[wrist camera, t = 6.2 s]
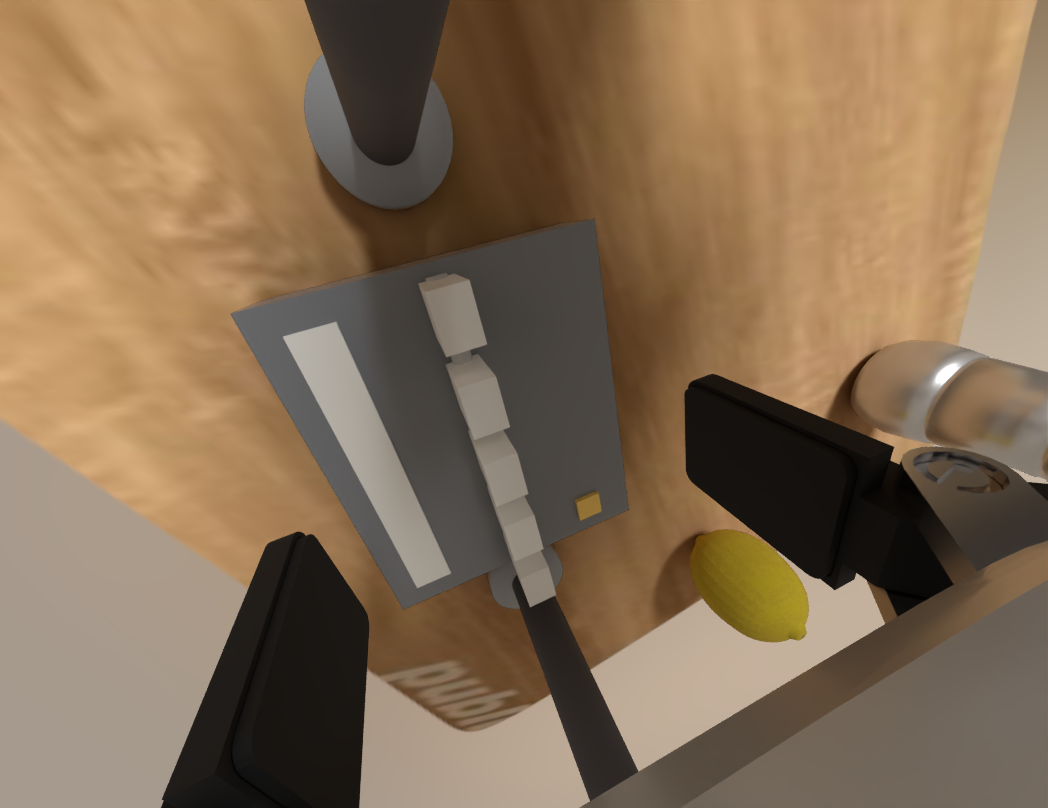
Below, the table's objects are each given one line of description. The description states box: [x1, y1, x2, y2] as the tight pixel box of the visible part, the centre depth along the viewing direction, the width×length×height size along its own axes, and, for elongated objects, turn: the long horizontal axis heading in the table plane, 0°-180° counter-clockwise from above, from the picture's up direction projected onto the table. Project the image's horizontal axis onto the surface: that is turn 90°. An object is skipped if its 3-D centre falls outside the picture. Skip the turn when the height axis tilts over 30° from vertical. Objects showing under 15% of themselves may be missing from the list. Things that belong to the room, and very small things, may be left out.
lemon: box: [690, 529, 809, 642], centre depth 24 cm, size 6×6×8 cm
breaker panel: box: [231, 219, 629, 610], centre depth 16 cm, size 14×12×3 cm
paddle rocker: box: [418, 273, 556, 607], centre depth 14 cm, size 13×1×3 cm, turn 13°
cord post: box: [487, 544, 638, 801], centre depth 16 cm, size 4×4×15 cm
